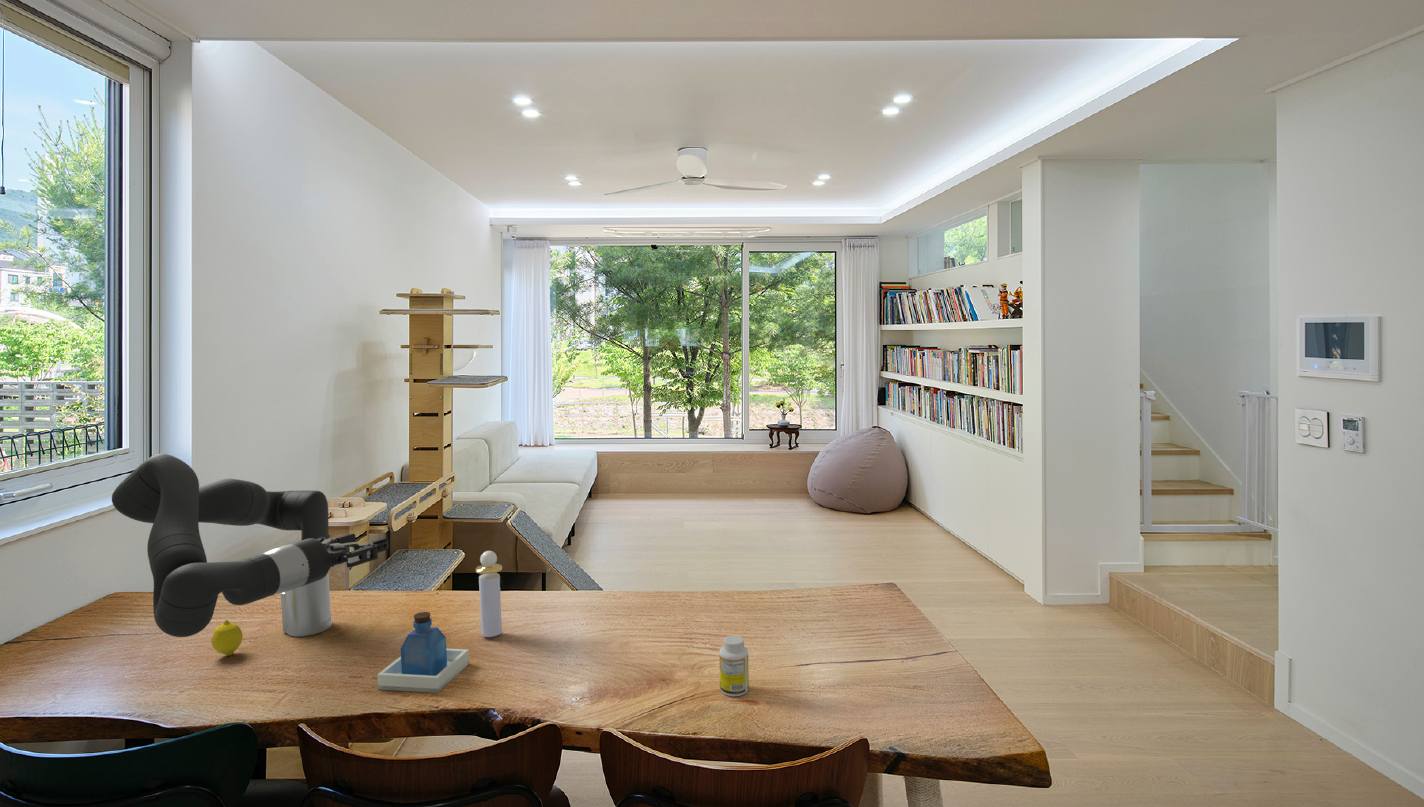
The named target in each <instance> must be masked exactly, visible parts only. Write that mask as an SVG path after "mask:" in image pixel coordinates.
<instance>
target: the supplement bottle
mask: <svg viewBox="0 0 1424 807" xmlns="http://www.w3.org/2000/svg"><path fill="white" fill-rule="evenodd" d="M722 642H723V644H722V647H721V648H720V649H719V653H718V654H719V689H720V691H721V693H722V694H724V695H725V696H729V697H734V698H735V697H740V696H744V695H745V694H746V693H747V692H749V687H750V685H749V684H750V683H749V681H750V680H749V677H750V676H749V672H750V671H749V650H748V648H747V647H746V646H745V639H744V638H743V637H742V636H740V635H728V636H725V637H724V638H723V641H722Z"/></svg>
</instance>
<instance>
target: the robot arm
mask: <svg viewBox="0 0 1424 807" xmlns="http://www.w3.org/2000/svg"><path fill="white" fill-rule="evenodd" d="M193 469H194V468H192V467H191V465H189V464H188V463H187V462H185V461H183V460H181V459H180V458H178V457H176V456H174V455H171V454H168V453H167V454H166V453H156V454H154V455H152V456H150V457H149V458H147V459H146V460H144V461H143V462H142V463H141V464H139V466H137V467H136V468H135V469H134V470H132V472H131V473H129V475H127V476H126V477H125V478H124V479H123V480H122V481H121V482H120V483H119V484H118V486H116V488H115V489H114V491H113V493H112V495H111V502H112V505H113V507H114V508H115V509H116V510H117V511H118V512H119V513H120V514H122V515H123V516H125V517H127V518H128V519H131V520H134V521H136V522H137V521H138V522H140V523H141V522H142V523H146V524H152V526H151V529H150V532H149V535H148V536H149V537H148V541H147V550H146V552H147V558H148V562H149V567H150V571H151V572H150V573H151V575H152V579H153V591H152V597H153V598H152V600H153V601H152V604H153V605H152V606H153V608H152V609H153V610H152V611H153V612H152V613H153V618H154V621H155V624H156V625H157V627H158V629H159V630H161V632H163V633H164V634H166V635H169V636H172V637H175V638H187V637H192V636H195V635H197V634H198V633H200V632H202V631H203V630H204V629H206V627H207V626H209V624H210V622H212V618H213V616H214V612H215V609H216V605H217V601H218V598H219V596H220V595H219V594H221V593H222V595H223V597H224V599H225V601H227V602H228V603H230V604H231V605H234V606H244V605H245V606H246V605H248V604H252V603H254V602H257V601H260V600H264V599H265V598H269V597H271V596H274V595H278V594H280V607H281V620H282V621H281V622H282V633H283V634H287V635H288V636H290V637H309V636H313V635H317V634H320V633H322V632H325V631H328V629H330V628H331V627H332V626H333V624H332V623H333V621H332V608H331V606H332V605H331V595H330V592H331V591H330V579H329V577H330V576H329V571H330V569H331V568H335V567H341V566H342V565H346V567H347V568H353V567H356V566H361V565H363V564H365V563H368V562H372V561H374V560H375V561H376V560H377V559H378V558H379V553H382V552H385V551H387V550H388V549H389V545H390V544H389V539H388V538H386V537H383V538H379V539H376V540H373V541H369V542H364V543H358V542H357V541H356V539H357V538H356V534H355V533H348V534H345V535H341V536H337V537H334V536H333V537H332V536H331V537H330V535H329V502H328V499H327V497H326V495H325V494H324V492H322V491H320V490H285V491H282V490H281V491H280V490H279V491H268V490H266V489H265V487H263V486H261V485H260V484H258V483H255V482H252V481H249V480H244V479H243V480H242V479H236V478H222V479H215V480H213V481H209V482H205V483H202V484H200V481H199V478H198V476H197V474H196V472H195V471H194V470H193ZM199 523H205V524H217V525H223V526H238V527H239V526H240V527H244V526H246V527H248V526H254V525H262V526H266V527H269V528H273V529H277V530H281V531H302V532H301V533H302V534H301V540H299V541H295V542H293V543H289V544H285V545H282V546H278V547H275V548H272V549H270V550H268V551H265V552H262V553H260V554H256V555H253V556H249V557H247V558H243V559H239V560H236V561H235V560H234V561H233V560H232V561H215V562H213V561H211V562H208V558H207V554H206V551H205V548H204V544H203V542H202V538H201V533H200V527H199V526H200V525H199ZM350 548H353V550H352V549H350Z"/></svg>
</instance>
